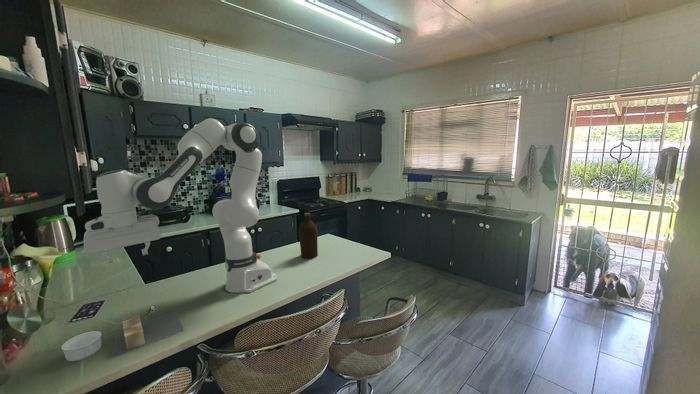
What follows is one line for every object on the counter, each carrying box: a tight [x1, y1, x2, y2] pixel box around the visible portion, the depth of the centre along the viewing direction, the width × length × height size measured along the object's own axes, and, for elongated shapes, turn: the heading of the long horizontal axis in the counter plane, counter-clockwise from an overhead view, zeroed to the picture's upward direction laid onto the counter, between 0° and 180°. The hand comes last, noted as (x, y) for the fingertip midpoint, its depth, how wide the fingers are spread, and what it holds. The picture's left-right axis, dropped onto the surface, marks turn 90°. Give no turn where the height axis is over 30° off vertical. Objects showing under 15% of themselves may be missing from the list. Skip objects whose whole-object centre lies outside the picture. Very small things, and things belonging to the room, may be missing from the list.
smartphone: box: [68, 299, 107, 324], centre depth 109 cm, size 8×1×15 cm
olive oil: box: [298, 212, 319, 260], centre depth 158 cm, size 11×11×25 cm
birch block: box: [122, 314, 145, 350], centre depth 91 cm, size 4×4×12 cm
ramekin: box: [61, 330, 102, 362], centre depth 85 cm, size 9×9×4 cm
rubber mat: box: [113, 311, 185, 358], centre depth 94 cm, size 18×16×1 cm
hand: (128, 258), depth 95 cm, fingers open, 8 cm apart
